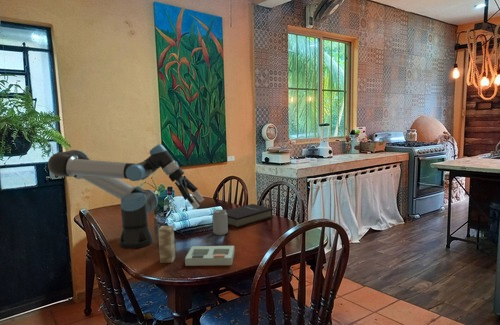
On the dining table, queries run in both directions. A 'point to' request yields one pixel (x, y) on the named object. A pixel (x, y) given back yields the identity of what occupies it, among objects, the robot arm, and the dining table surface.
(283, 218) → the dining table surface
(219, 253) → the socket board
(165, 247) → the maple peg
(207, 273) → the dining table surface
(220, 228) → the can
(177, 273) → the dining table surface
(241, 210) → the book
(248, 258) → the dining table surface
